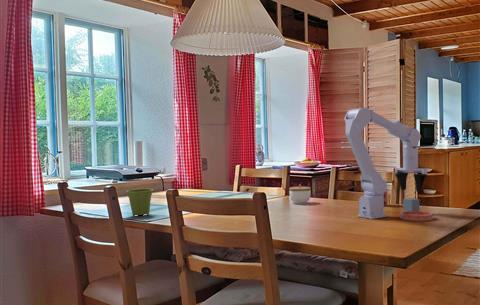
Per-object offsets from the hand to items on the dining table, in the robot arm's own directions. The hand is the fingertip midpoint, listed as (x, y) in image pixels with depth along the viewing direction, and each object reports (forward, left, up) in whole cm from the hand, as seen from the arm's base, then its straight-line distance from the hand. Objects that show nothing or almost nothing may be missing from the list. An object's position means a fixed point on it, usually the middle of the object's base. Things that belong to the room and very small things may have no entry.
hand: (411, 190), depth 192 cm
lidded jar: (-16, +54, -10) cm, 57 cm away
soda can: (+7, +24, -10) cm, 27 cm away
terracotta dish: (-8, -9, -9) cm, 15 cm away
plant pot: (-92, +71, -10) cm, 117 cm away
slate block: (0, 0, -9) cm, 9 cm away
